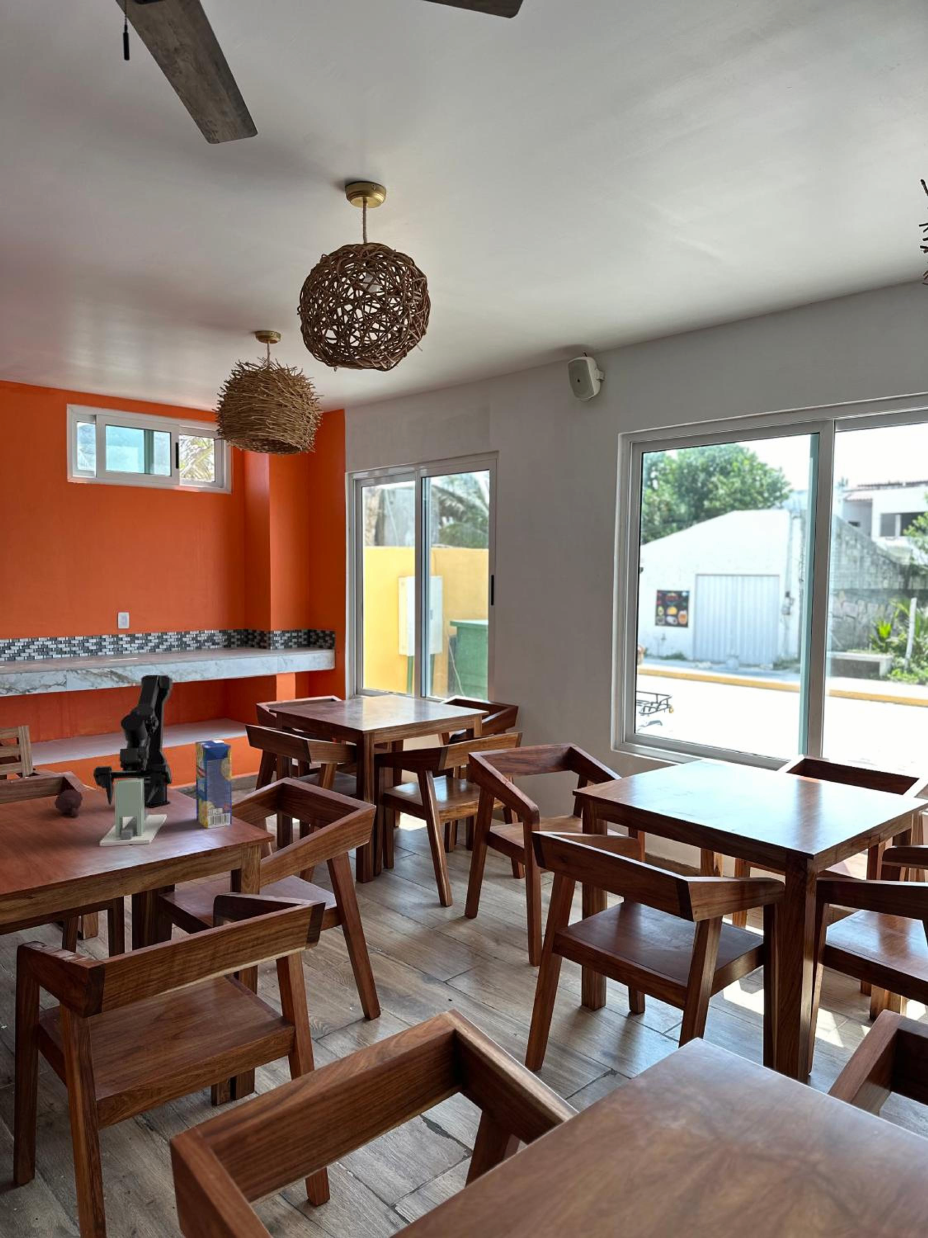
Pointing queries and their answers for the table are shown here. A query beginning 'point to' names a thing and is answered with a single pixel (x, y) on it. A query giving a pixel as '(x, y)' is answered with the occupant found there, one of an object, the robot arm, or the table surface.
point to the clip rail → (136, 839)
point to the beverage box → (213, 783)
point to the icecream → (69, 802)
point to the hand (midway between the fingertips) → (128, 803)
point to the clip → (129, 803)
